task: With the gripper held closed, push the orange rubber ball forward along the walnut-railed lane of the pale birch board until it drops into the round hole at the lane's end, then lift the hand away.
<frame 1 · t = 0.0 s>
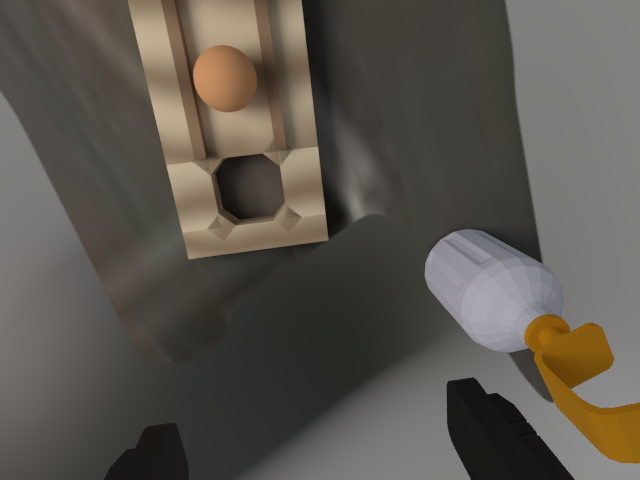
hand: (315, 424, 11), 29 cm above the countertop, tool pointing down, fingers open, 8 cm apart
ball: (225, 79, 30), point 5 cm above the countertop, touching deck
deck: (240, 124, 36), on the countertop
soap bottle: (461, 265, 43), on the countertop
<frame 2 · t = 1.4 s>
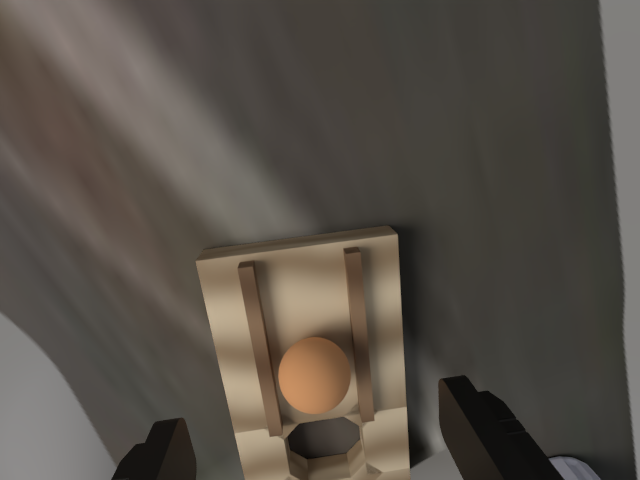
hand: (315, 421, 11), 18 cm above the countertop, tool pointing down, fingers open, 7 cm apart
ball: (314, 374, 26), point 5 cm above the countertop, touching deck
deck: (315, 371, 32), on the countertop
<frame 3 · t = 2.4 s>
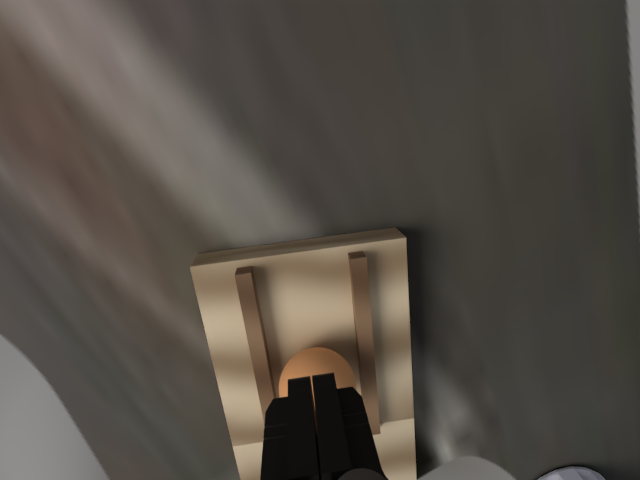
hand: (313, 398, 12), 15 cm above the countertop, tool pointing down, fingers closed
ball: (317, 387, 24), point 5 cm above the countertop, touching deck
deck: (317, 380, 30), on the countertop
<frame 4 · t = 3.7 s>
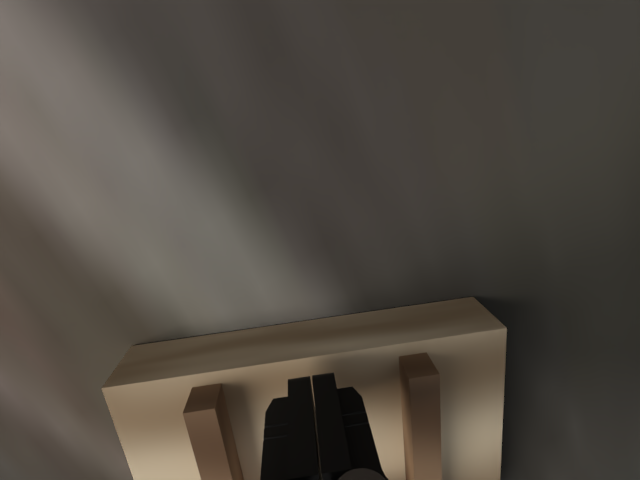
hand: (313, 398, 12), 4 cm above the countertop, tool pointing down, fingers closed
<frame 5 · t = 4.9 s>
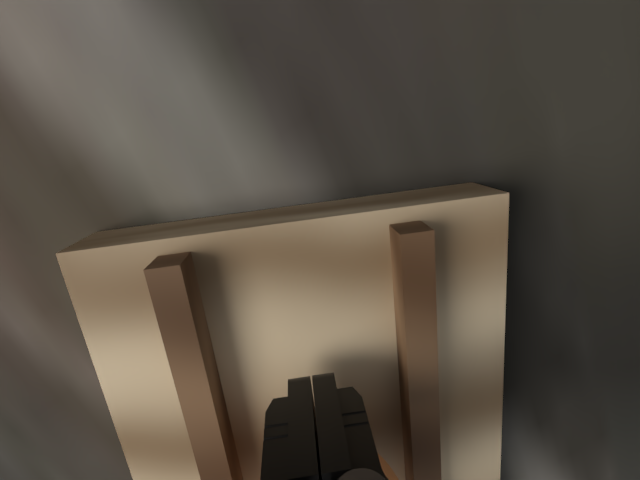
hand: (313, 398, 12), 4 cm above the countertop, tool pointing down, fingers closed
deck: (324, 458, 17), on the countertop
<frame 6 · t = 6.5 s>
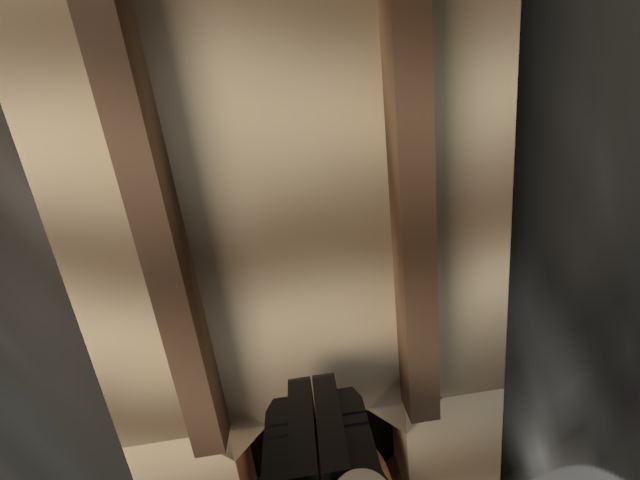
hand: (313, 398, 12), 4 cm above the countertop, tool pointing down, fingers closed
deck: (305, 316, 15), on the countertop
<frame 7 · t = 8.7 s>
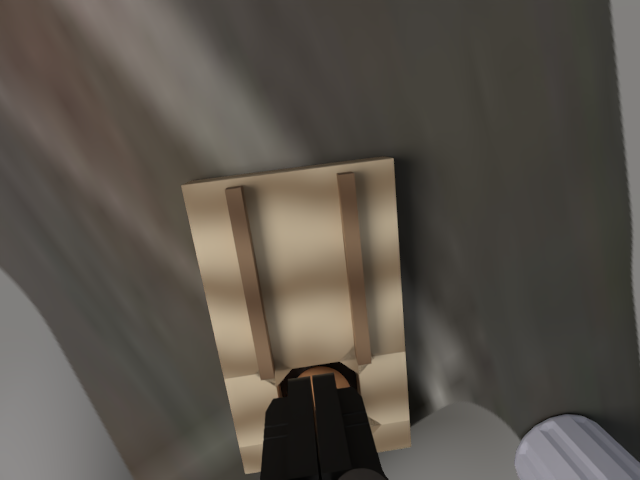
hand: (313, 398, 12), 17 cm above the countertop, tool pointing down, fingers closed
ball: (321, 399, 29), point 2 cm above the countertop, tilted 174°
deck: (309, 317, 30), on the countertop
soap bottle: (555, 448, 36), on the countertop
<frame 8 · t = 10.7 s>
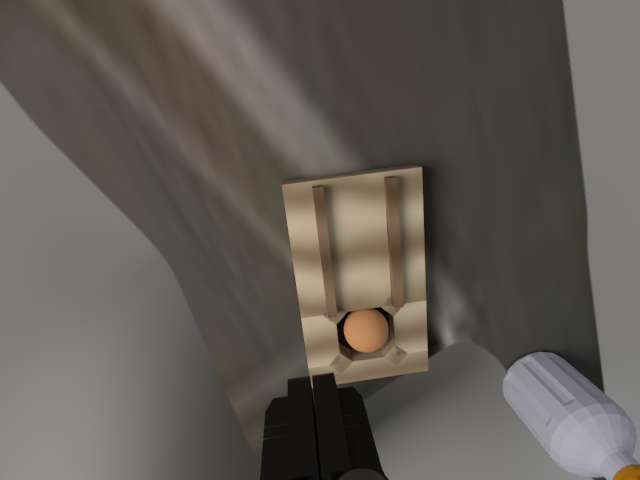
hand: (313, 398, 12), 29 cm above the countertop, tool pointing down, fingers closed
ball: (366, 329, 42), point 2 cm above the countertop, tilted 170°
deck: (358, 277, 43), on the countertop
soap bottle: (532, 378, 49), on the countertop
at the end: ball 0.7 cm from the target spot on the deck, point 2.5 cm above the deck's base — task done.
